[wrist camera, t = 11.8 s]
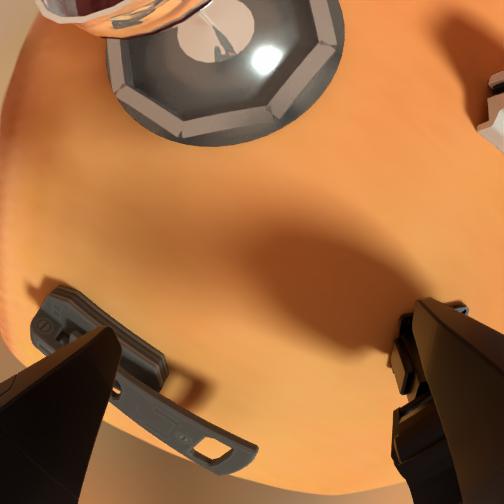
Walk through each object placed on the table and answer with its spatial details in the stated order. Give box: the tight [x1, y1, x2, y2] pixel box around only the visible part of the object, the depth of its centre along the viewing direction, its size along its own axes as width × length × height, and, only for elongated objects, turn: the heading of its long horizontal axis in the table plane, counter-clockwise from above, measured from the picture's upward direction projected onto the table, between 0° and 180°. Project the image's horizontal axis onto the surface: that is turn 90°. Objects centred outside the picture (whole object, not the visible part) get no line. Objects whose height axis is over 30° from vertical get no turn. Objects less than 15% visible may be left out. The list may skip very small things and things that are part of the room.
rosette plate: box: [106, 0, 344, 147], centre depth 15 cm, size 16×16×2 cm
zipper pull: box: [30, 285, 259, 476], centre depth 25 cm, size 9×7×25 cm
